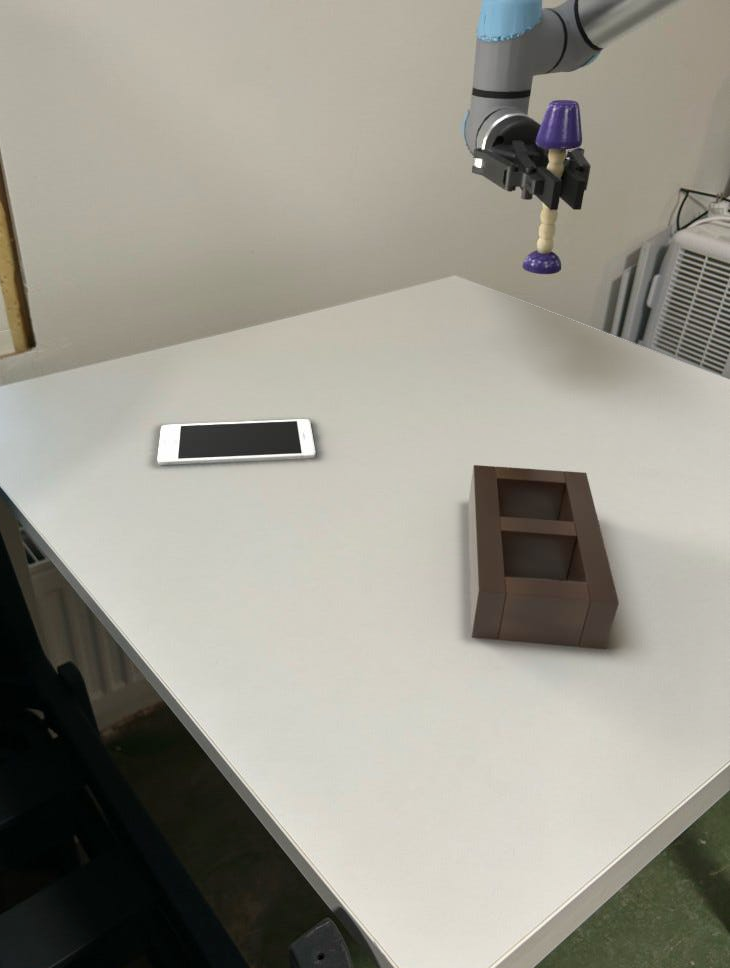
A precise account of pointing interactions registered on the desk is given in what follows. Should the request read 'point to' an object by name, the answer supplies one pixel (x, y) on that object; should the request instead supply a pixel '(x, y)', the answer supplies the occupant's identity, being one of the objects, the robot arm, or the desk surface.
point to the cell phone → (235, 442)
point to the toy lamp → (557, 136)
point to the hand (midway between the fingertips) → (567, 195)
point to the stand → (538, 559)
